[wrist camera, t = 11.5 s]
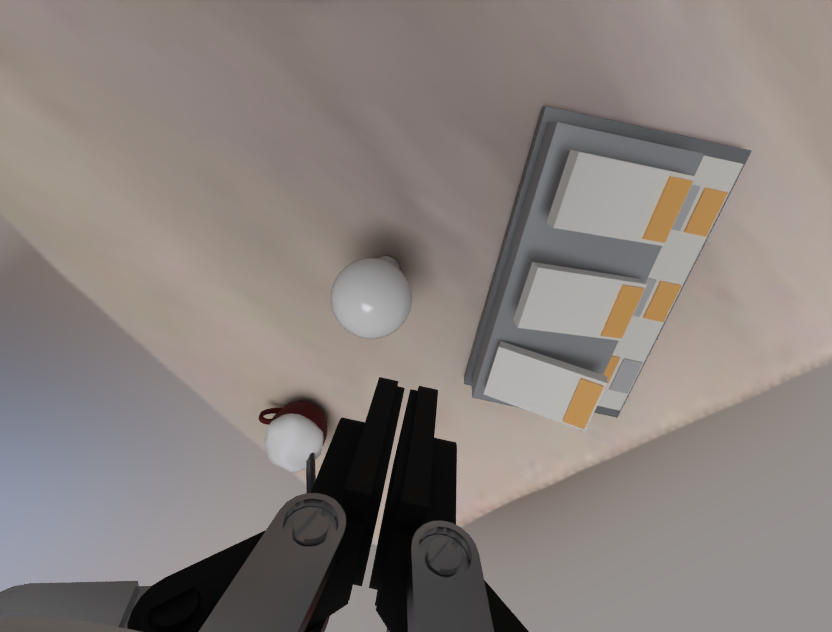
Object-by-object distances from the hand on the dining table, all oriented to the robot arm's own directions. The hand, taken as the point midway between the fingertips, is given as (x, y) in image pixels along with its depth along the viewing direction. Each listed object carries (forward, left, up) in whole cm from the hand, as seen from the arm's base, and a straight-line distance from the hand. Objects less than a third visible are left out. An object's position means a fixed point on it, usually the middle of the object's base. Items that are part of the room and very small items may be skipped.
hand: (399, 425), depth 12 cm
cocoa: (+26, -10, -29) cm, 41 cm away
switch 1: (-5, +12, -23) cm, 26 cm away
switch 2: (+3, +12, -23) cm, 26 cm away
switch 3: (+11, +12, -23) cm, 28 cm away
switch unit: (+3, +14, -29) cm, 32 cm away
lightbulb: (+6, -4, -29) cm, 30 cm away
